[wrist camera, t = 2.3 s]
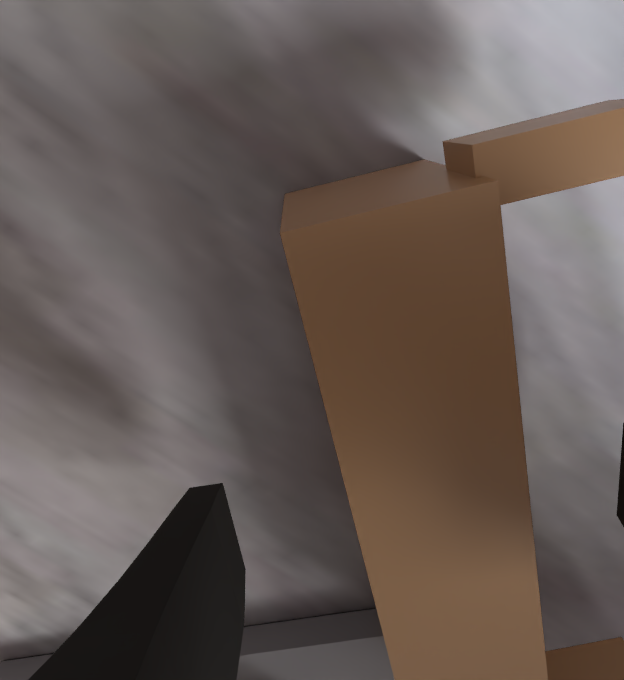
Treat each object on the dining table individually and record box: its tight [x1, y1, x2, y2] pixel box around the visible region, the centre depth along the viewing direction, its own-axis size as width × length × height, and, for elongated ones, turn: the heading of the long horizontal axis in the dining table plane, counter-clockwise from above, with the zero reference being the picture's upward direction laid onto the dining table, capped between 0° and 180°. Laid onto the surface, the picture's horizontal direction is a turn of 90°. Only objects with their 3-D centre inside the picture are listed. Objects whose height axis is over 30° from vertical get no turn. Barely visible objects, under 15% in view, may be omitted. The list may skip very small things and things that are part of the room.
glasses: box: [280, 99, 624, 680], centre depth 10 cm, size 5×12×4 cm, turn 13°
